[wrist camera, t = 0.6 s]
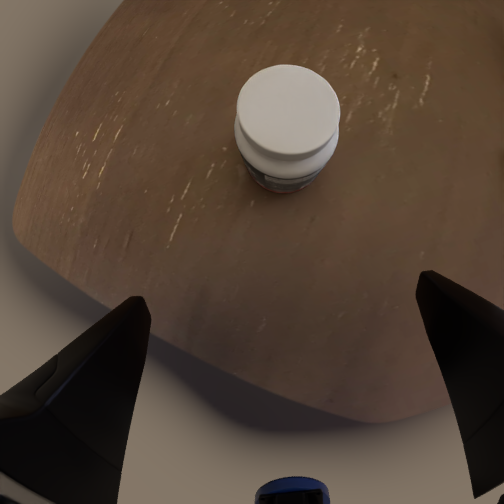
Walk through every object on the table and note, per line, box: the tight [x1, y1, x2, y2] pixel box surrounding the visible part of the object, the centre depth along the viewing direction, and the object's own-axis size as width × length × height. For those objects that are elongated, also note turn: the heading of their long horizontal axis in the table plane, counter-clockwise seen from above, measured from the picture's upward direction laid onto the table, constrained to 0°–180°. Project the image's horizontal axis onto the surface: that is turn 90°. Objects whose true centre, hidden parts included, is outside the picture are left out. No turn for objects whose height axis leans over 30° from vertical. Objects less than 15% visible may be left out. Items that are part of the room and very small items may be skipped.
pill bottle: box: [234, 65, 340, 193], centre depth 17 cm, size 6×6×10 cm
